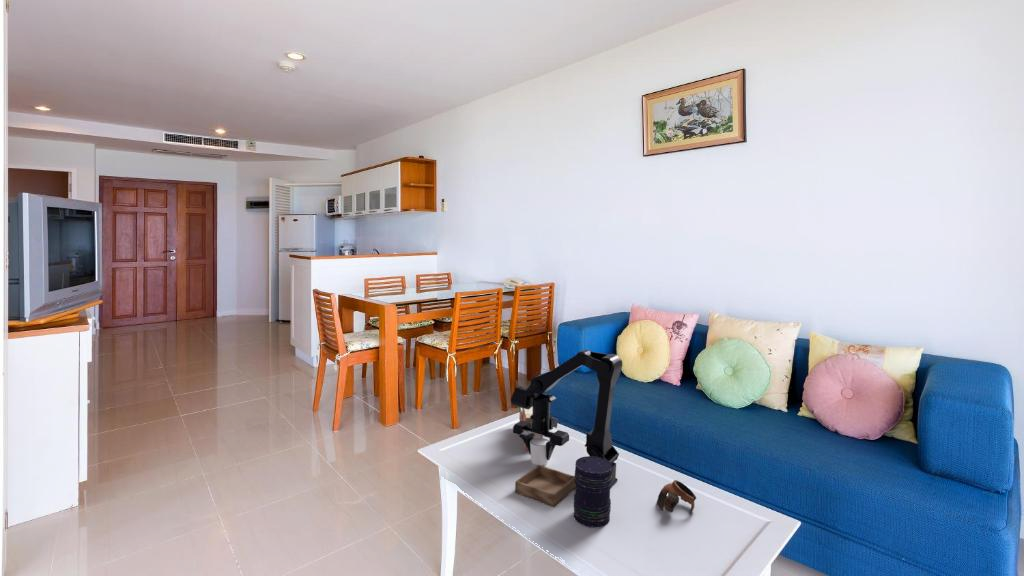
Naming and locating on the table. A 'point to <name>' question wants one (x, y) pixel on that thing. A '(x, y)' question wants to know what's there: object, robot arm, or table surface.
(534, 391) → the robot arm
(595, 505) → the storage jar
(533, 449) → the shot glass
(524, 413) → the stack of blocks
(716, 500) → the table surface
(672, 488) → the brown hollow curved piece
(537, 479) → the walnut crate
